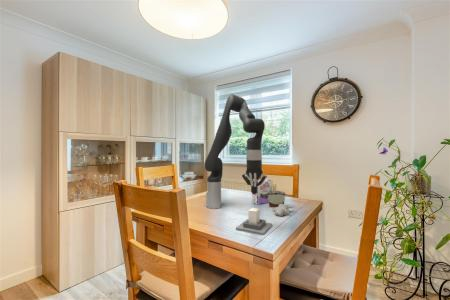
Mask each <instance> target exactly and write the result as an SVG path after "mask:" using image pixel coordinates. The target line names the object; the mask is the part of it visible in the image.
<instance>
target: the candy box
mask: <svg viewBox="0 0 450 300" xmlns="http://www.w3.org/2000/svg"><path fill="white" fill-rule="evenodd" d="M260 180H261V179H259V181H260ZM259 181H258V182H259ZM269 191H273V179H269V178H266V179H265V180H264V182H263V183H262V184H261V185H259V186H258V192H257V193H256V194H252V203H253V204H254V205H257V206H258V205H264V204H269V201H268V195H267V193H268V192H269Z"/></svg>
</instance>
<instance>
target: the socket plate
mask: <svg viewBox="0 0 450 300" xmlns="http://www.w3.org/2000/svg"><path fill="white" fill-rule="evenodd" d="M272 227H273V223H272V222H267V221H266V219H262V218H260V223H259V224H258V225H256V224H250V223H249V218H247V219H245V220H244V221H242V222H241V223H240V224H239V225H237V226H236V227H235V230H236V231H240V232H244V233H250V234H255V235H260V236H264V235H265V234H266V233H267V232H268V231H269V230H270V229H271V228H272Z"/></svg>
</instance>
